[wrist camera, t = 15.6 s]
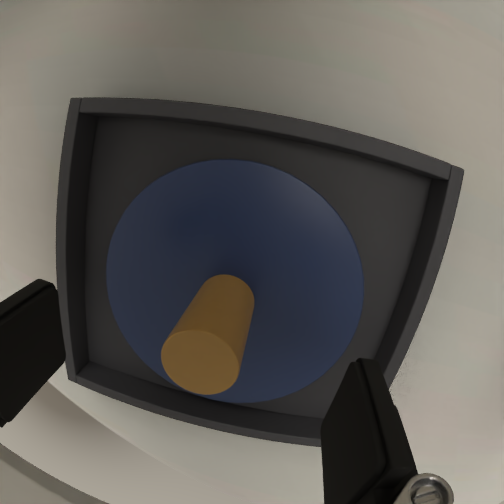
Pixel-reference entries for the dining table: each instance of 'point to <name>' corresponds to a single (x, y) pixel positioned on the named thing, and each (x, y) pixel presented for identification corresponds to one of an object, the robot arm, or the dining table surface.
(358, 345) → the tray
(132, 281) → the tin lid
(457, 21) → the dining table surface
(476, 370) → the dining table surface
